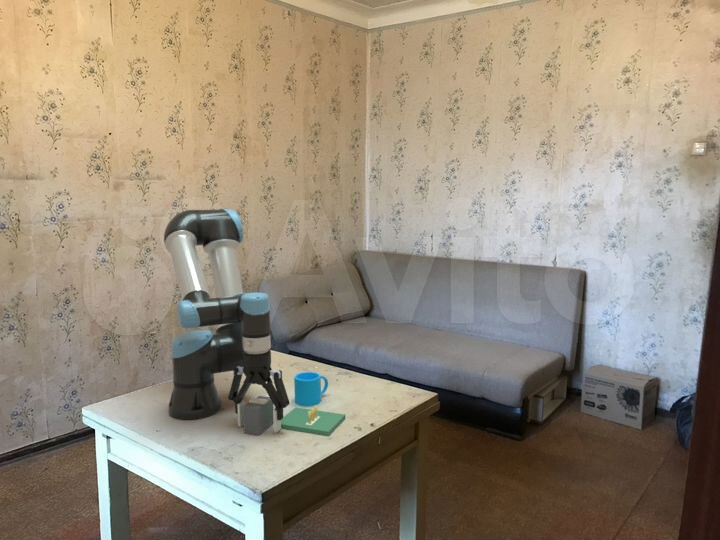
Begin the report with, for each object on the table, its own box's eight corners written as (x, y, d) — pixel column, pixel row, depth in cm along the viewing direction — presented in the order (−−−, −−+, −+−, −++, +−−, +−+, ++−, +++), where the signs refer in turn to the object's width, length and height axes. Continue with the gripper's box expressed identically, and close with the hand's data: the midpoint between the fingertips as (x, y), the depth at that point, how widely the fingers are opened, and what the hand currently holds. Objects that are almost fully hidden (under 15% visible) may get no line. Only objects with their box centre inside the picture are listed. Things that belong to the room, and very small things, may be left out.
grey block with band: (244, 433, 147) (243, 404, 146) (260, 421, 155) (259, 393, 154) (258, 435, 146) (257, 406, 145) (274, 423, 154) (273, 395, 152)
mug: (305, 408, 164) (304, 382, 163) (289, 401, 170) (289, 376, 169) (335, 398, 172) (335, 373, 171) (320, 391, 178) (319, 367, 177)
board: (275, 427, 151) (275, 411, 150) (295, 411, 162) (295, 396, 161) (328, 435, 145) (328, 419, 145) (345, 418, 157) (345, 402, 156)
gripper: (212, 350, 148) (216, 427, 151) (288, 358, 140) (290, 439, 143) (228, 342, 155) (231, 416, 158) (301, 350, 147) (303, 428, 150)
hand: (259, 427), depth 150 cm, fingers open, 10 cm apart
